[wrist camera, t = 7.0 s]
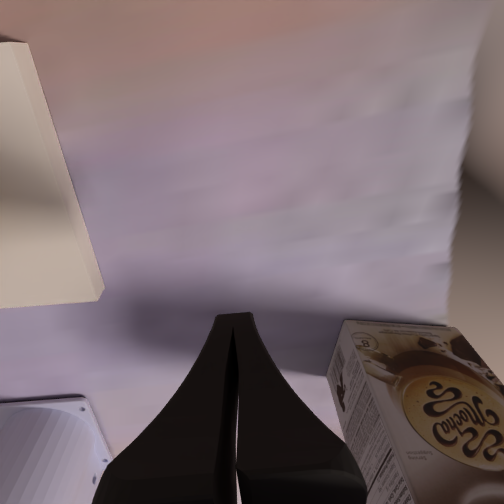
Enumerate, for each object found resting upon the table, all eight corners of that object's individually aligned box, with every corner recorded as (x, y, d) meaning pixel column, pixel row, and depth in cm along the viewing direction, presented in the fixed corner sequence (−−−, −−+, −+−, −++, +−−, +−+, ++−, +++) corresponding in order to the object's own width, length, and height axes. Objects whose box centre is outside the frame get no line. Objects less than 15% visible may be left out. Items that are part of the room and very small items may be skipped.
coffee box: (459, 323, 27) (714, 626, 13) (428, 383, 30) (605, 679, 16) (342, 315, 26) (474, 633, 12) (322, 378, 29) (409, 688, 15)
